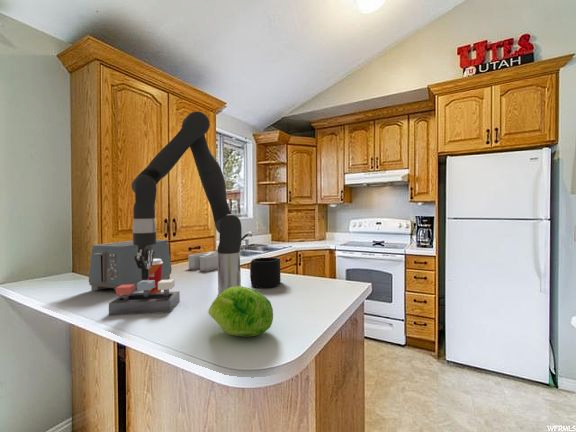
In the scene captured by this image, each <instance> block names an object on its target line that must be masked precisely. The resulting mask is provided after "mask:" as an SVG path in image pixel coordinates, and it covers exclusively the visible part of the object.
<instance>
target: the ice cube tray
mask: <svg viewBox="0 0 576 432" xmlns="http://www.w3.org/2000/svg"><path fill="white" fill-rule="evenodd" d="M187 258H188V269H189V270H196V271H197V270H200V271H202V272H209V271H210V272H211V271H214V270H218V250H213V251H206V252H199V253H193V254H188V255H187Z"/></svg>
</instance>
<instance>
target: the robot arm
mask: <svg viewBox="0 0 576 432" xmlns="http://www.w3.org/2000/svg"><path fill="white" fill-rule="evenodd" d="M210 126H211V125H210V119H209V117H208V116H207V115H206V114H205V113H204V112H202V111H192V112H190V113H188V115H187V116H186V117H184V119H183V120H182V123H181V128H180V130H179V131H178V132H177V134H175V136H174V137H173V138H172V139H171V140H169V142H168V143H167V144H166V145H164V147H163V148H162V149H160V151H159V152H158V153H157V154H156V155H155V156H154V157H153V159H151V161H150V162H149V164H148V165H147V166H146V167H145V168H144V169H143V170H142V171H141V172H140V173H139V174H138V175H137V176H136V177H135V178H134V179H133V181H132V182H131V189H132V191H133V192H134V197H135V199H134V201H135V202H134V205H133V208H132V209H133V217H132V218H133V221H132V241H133V244H134V245H138V251H137V255H138V256H135V257H134V259H135V261H136V264H137V266H138V268H139V269H142V270H141V275H142V280H148V279H149V268H150V266H152V263H153V258H154V254H155V252H154V251H153V250H152V245H153V244H156V240H157V223H156V201H157V184H158V183H159V182H160V181H162V179H163V178H165V177H166V176H167V175H168V174H169V173H170V172H171V170H172V169H173V168H174V167H175V165H177V163H178V162H179V161H180V159H181V158H182V156H184V154H185V153H186V151H188V149H190V151H191V154H192V157H193V160H194V163H195V167H196V170H197V173H198V176H199V179H200V183H201V185H202V188H203V191H204V193H205V196H206V199H207V200H208V203H209V205H210V209H211V212H212V218H213V222H214V227H215V229H216V231H217V232H218V234H219V241H218V245H217V251H218V269H217V294H218V296H219V295H220V294H221V293H222V292H223V291H225V290H226V289H228V288H230V287H236V286H242V281H241V279H242V278H241V275H242V273H241V246H242V230H243V229H242V228H243V227H242V222H241V219H240V218H239V217H238V216H237V215H235V214H232V211H231V209H230V207H229V206H230V205H229V204H228V200H227V199H228V198H227V186H226V181H225V177H224V173H223V171H222V168H221V166H220V164H219V162H218V161H217V159H216V157H215V156H214V155H213V154H212V152H211V150H210V148H209V146H208V143H207V139H206V134H207V133H208V131H209V130H210Z"/></svg>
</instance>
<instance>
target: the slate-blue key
mask: <svg viewBox="0 0 576 432" xmlns="http://www.w3.org/2000/svg"><path fill="white" fill-rule="evenodd" d="M154 287H155V280H143V281H140V282H139V283H137V289H136V290H137V291H139V292H140V291H143V293H144V297H148V296H149V290H151V289H153V288H154Z"/></svg>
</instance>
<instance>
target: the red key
mask: <svg viewBox="0 0 576 432" xmlns="http://www.w3.org/2000/svg"><path fill="white" fill-rule="evenodd" d="M135 292H136V290H135V284H128V285H121V286H119V287H117V288H116V291H115V295H116V296H122V295H123V300H129V295H130V294H131V293H135Z"/></svg>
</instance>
